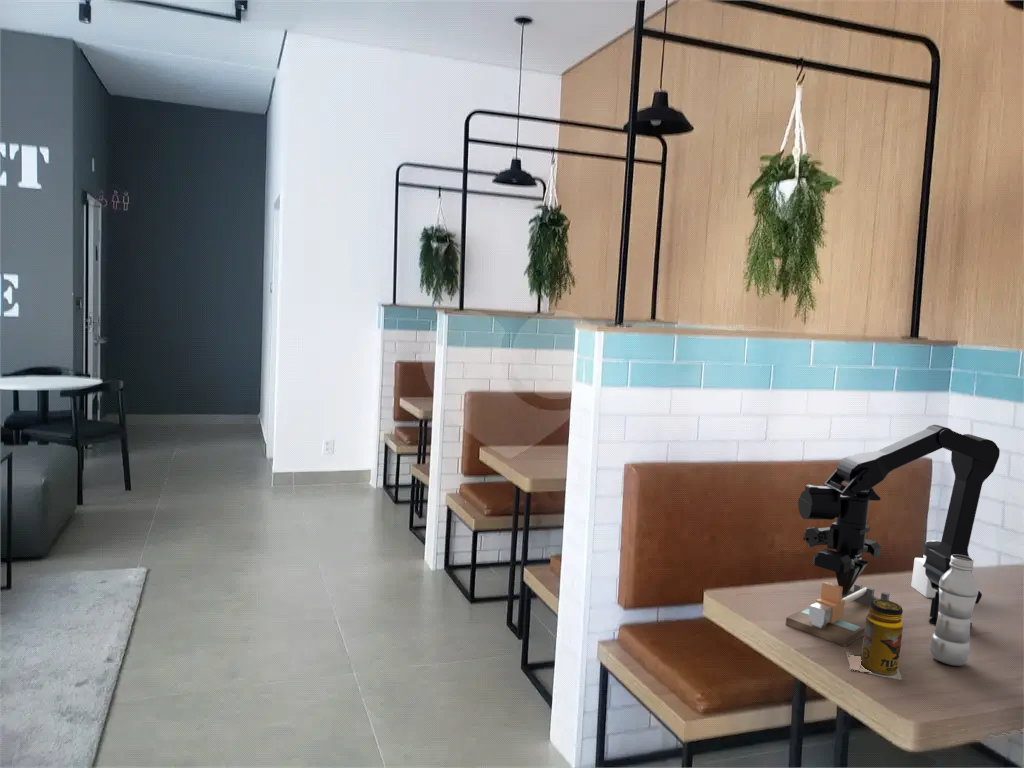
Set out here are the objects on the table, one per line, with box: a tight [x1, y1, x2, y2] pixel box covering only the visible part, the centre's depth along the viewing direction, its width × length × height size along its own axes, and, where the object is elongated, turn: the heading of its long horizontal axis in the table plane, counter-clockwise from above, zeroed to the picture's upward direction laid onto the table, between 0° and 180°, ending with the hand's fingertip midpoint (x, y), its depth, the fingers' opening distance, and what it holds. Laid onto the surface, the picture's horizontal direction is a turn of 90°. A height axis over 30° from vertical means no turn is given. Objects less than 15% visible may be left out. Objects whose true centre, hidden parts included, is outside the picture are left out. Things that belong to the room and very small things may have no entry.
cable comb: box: [842, 583, 890, 606], centre depth 170 cm, size 10×1×4 cm, turn 44°
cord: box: [843, 587, 868, 604], centre depth 163 cm, size 1×20×1 cm, turn 134°
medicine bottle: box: [910, 539, 941, 599], centre depth 182 cm, size 7×7×12 cm
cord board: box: [785, 597, 870, 647], centre depth 163 cm, size 12×23×2 cm, turn 134°
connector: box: [808, 601, 832, 629], centre depth 155 cm, size 3×3×4 cm
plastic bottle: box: [929, 554, 980, 667], centre depth 145 cm, size 6×7×20 cm
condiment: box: [845, 599, 904, 681], centre depth 142 cm, size 7×8×12 cm
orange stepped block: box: [815, 581, 845, 623], centre depth 158 cm, size 4×5×7 cm
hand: (843, 594), depth 162 cm, fingers closed
